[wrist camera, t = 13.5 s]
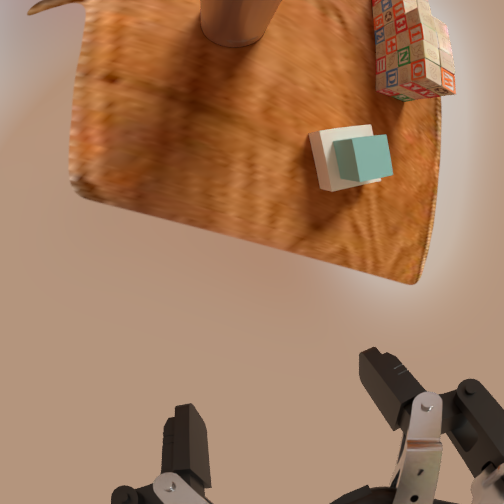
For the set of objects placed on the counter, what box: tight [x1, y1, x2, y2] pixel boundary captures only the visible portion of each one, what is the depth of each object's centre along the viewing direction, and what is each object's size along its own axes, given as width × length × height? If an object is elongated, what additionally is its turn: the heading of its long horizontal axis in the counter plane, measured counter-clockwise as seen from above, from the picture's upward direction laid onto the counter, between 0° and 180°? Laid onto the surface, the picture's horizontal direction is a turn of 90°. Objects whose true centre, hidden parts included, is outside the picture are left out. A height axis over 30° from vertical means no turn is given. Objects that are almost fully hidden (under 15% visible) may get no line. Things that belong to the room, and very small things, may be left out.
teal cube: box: [333, 134, 393, 182], centre depth 30 cm, size 5×5×5 cm
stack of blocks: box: [372, 0, 456, 102], centre depth 26 cm, size 21×6×12 cm, turn 176°
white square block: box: [308, 124, 381, 192], centre depth 35 cm, size 8×8×4 cm
